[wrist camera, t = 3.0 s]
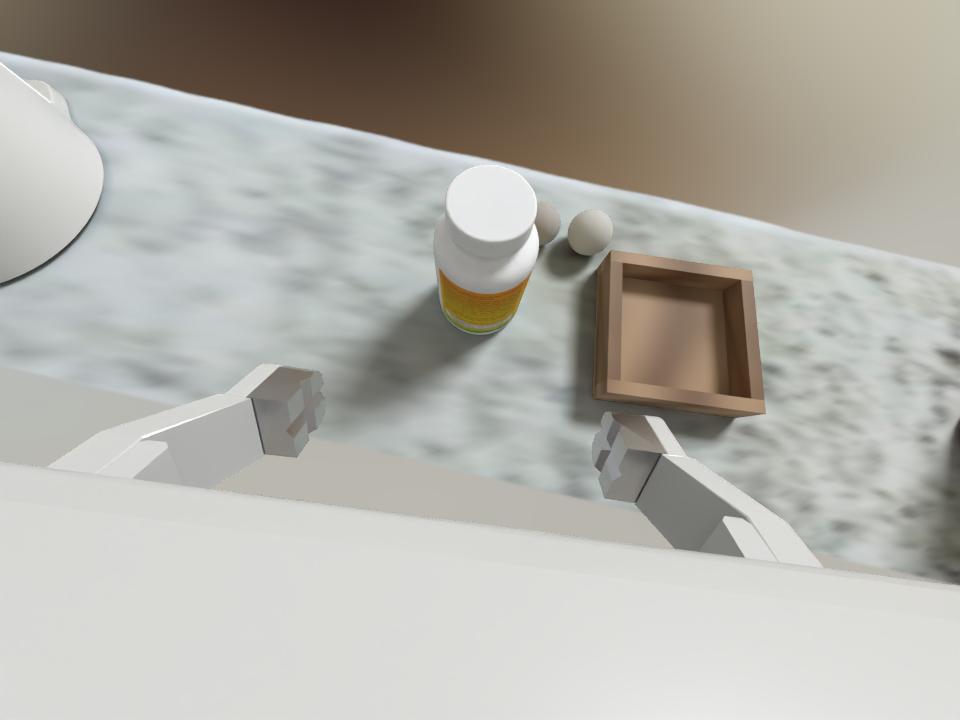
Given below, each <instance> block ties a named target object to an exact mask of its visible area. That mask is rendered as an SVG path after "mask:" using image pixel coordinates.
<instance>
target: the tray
mask: <svg viewBox="0 0 960 720" xmlns="http://www.w3.org/2000/svg"><path fill="white" fill-rule="evenodd" d="M593 398H594V399H601V400H609V401H616V402H623V403H631V404H638V405H646V406H653V407H660V408H668V409H675V410H682V411H690V412H697V413H704V414H712V415H719V416H727V417H734V418H738V417H746V416H753V415H760V414H766V412H765V402H764V391H763V381H762V370H761V360H760V350H759V339H758V329H757V318H756V308H755V298H754V287H753V277H752V271H751V270H744V269H737V268H730V267H723V266H716V265H710V264H703V263H696V262H689V261H682V260H675V259H668V258H662V257H655V256H648V255H641V254H634V253H627V252H621V251H614V250H611V251H610V252H609V253H608V255H607V256H606V257H605V259H604V260H603V262H602V263H601V264H600V266H599V267H598V272H597V298H596V324H595V350H594V376H593Z"/></svg>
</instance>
